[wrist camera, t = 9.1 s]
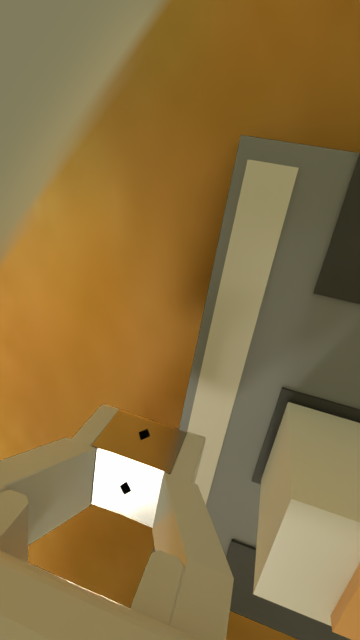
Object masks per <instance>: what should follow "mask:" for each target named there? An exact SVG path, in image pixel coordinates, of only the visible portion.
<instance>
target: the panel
mask: <svg viewBox="0 0 360 640" xmlns="http://www.w3.org/2000/svg"><path fill="white" fill-rule="evenodd" d="M288 402H290V403H294V404H297V405H300V406H304V407H307V408H311V409H314V410H317V411H321V412H324V413H328V414H331V415H334V416H338V417H341V418H344V419H348V420H351V421H355V422H358V423H360V153H356V152H350V151H343V150H336V149H330V148H323V147H317V146H310V145H304V144H297V143H291V142H284V141H277V140H271V139H264V138H258V137H251V136H245V135H241V136H240V141H239V146H238V150H237V155H236V160H235V165H234V169H233V174H232V179H231V184H230V188H229V193H228V198H227V203H226V207H225V212H224V217H223V222H222V226H221V231H220V236H219V241H218V245H217V250H216V255H215V260H214V264H213V269H212V274H211V279H210V284H209V288H208V293H207V298H206V303H205V307H204V312H203V317H202V322H201V326H200V331H199V336H198V341H197V345H196V350H195V355H194V360H193V364H192V369H191V374H190V379H189V383H188V388H187V393H186V398H185V402H184V407H183V412H182V417H181V422H180V426H179V429H180V430H183V431H186V432H191V433H194V434H198V435H201V436H204V437H206V441H205V445H204V449H203V453H202V457H201V461H200V465H199V469H198V472H197V476H196V480H195V484H197V485H198V487H199V489H200V492H201V494H202V497H203V500H204V502H205V505H206V507H207V510H208V513H209V515H210V518H211V520H212V523H213V526H214V528H215V531H216V533H217V536H218V539H219V541H220V544H221V546H222V549H223V552H224V554H225V557H226V559H227V562H228V565H229V567H230V570H231V572H232V575H233V578H234V582H233V590H232V598H231V605H230V611H232V612H235V613H237V614H239V615H242V616H244V617H246V618H249V619H251V620H254V621H256V622H258V623H261V624H263V625H265V626H268V627H270V628H272V629H275V630H277V631H280V632H282V633H284V634H287V635H289V636H291V637H294V638H296V639H298V640H351V639H349V638H346V637H344V636H341V635H339V634H336V633H334V632H332V626H330V625H327V624H325V623H322V622H320V621H317V620H315V619H312V618H310V617H308V616H305V615H303V614H300V613H298V612H295V611H293V610H290V609H288V608H286V607H283V606H281V605H278V604H276V603H273V602H271V601H268V600H266V599H264V598H261V597H259V596H256V595H254V594H253V588H254V574H255V560H256V546H257V532H258V518H259V504H260V490H261V479H262V476H263V473H264V470H265V467H266V464H267V461H268V459H269V456H270V453H271V450H272V447H273V444H274V441H275V438H276V435H277V432H278V430H279V427H280V424H281V421H282V418H283V415H284V412H285V409H286V406H287V404H288ZM153 552H155V545H154V550H153Z"/></svg>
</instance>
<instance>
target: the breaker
mask: <svg viewBox="0 0 360 640" xmlns="http://www.w3.org/2000/svg"><path fill="white" fill-rule="evenodd" d="M253 594H254V595H256V596H259V597H261V598H264V599H266V600H268V601H271V602H273V603H276V604H278V605H281V606H283V607H286V608H288V609H290V610H293V611H295V612H298V613H300V614H303V615H305V616H308V617H310V618H312V619H315V620H317V621H320V622H322V623H325V624H327V625H330V626H332V632H334V633H336V634H339V635H341V636H344V637H346V638H349V639H351V640H360V423H358V422H355V421H351V420H348V419H344V418H341V417H338V416H334V415H331V414H328V413H324V412H321V411H317V410H314V409H311V408H307V407H304V406H300V405H297V404H294V403H290V402H288V404H287V406H286V409H285V412H284V415H283V418H282V421H281V424H280V427H279V430H278V432H277V435H276V438H275V441H274V444H273V447H272V450H271V453H270V456H269V459H268V461H267V464H266V467H265V470H264V473H263V476H262V479H261V490H260V504H259V518H258V532H257V546H256V560H255V574H254V588H253Z"/></svg>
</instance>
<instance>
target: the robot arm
mask: <svg viewBox="0 0 360 640" xmlns="http://www.w3.org/2000/svg"><path fill="white" fill-rule="evenodd" d="M205 441H206V437H204V436H201V435H198V434H194V433H191V432H186V431H183V430H180V429H177V428H174V427H171V426H168V425H165V424H162V423H159V422H155V421H153V420H150V419H147V418H144V417H142V416H139V415H136V414H133V413H131V412H128V411H125V410H122V409H121V410H120V409H119V408H116V407H113V406H110V405H107V404H103V405H101V406H100V407H99V408H98V409H97V410H96V411H95V413H94V414H93V415H92V416H91V417H90V418H89V419H88V421H87V422H86V423H85V424H84V425H83V426H82V427H81V428H80V430H79V431H78V432H77V433H76V434H75V435H74V436H73V438H72V439H70V438H67V437H66V438H63V439H60V440H57V441H54V442H52V443H49V444H46V445H43V446H40V447H37V448H34V449H32V450H29V451H26V452H23V453H20V454H17V455H15V456H12V457H9V458H6V459H3V460H0V640H226V637H227V629H228V621H229V613H230V605H231V598H232V590H233V582H234V578H233V575H232V572H231V570H230V567H229V565H228V562H227V559H226V557H225V554H224V552H223V549H222V546H221V544H220V541H219V539H218V536H217V533H216V531H215V528H214V526H213V523H212V520H211V518H210V515H209V513H208V510H207V507H206V505H205V502H204V500H203V497H202V494H201V492H200V489H199V487H198V485H197V484H195V480H196V476H197V472H198V469H199V465H200V461H201V457H202V453H203V449H204V445H205ZM90 504H93V505H96V506H99V507H102V508H104V509H107V510H110V511H113V512H115V513H118V514H121V515H123V516H126V517H128V518H130V519H133V520H135V521H137V522H140V523H142V524H144V525H147V526H149V527H151V528H152V533H153V539H154V545H155V552H153V553H151V555H150V558H149V560H148V563H147V566H146V568H145V571H144V573H143V576H142V578H141V581H140V584H139V586H138V589H137V591H136V594H135V597H134V599H133V602H132V604H131V607H130V608H128V607H126V606H124V605H122V604H119V603H117V602H115V601H113V600H111V599H108V598H106V597H104V596H102V595H99V594H97V593H95V592H93V591H90V590H88V589H86V588H84V587H82V586H79V585H77V584H75V583H73V582H70V581H68V580H66V579H64V578H61V577H59V576H57V575H55V574H53V573H50V572H48V571H46V570H44V569H41V568H39V567H37V566H35V565H32V564H30V563H28V545H30V544H31V543H33V542H35V541H36V540H38V539H39V538H41V537H42V536H44V535H45V534H47V533H48V532H50V531H52V530H53V529H55V528H56V527H58V526H59V525H61V524H62V523H64V522H66V521H67V520H69V519H70V518H72V517H73V516H75V515H76V514H78V513H80V512H81V511H83V510H84V509H86V508H87V507H89V506H90Z"/></svg>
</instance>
